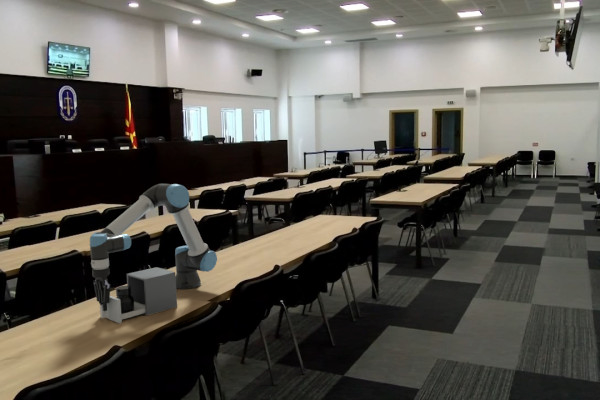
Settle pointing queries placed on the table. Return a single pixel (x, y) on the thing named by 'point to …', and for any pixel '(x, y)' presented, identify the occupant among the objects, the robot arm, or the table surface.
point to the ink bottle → (125, 298)
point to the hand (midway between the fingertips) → (104, 317)
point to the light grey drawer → (115, 310)
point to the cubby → (153, 289)
